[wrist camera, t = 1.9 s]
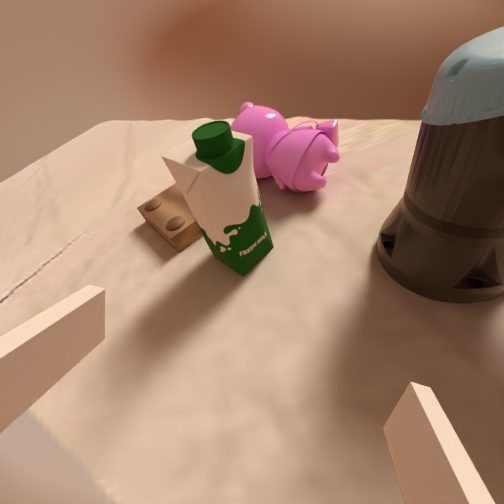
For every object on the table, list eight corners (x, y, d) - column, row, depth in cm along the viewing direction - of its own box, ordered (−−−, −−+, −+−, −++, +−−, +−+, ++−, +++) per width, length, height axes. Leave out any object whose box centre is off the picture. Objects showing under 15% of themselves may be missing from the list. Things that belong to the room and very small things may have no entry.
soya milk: (242, 283, 38) (189, 156, 23) (205, 256, 43) (143, 139, 29) (282, 245, 41) (256, 113, 27) (242, 225, 46) (203, 105, 32)
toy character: (362, 154, 50) (263, 117, 61) (359, 107, 38) (237, 72, 49) (317, 222, 51) (228, 174, 62) (301, 198, 39) (194, 144, 50)
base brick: (200, 187, 59) (193, 170, 55) (240, 209, 50) (234, 191, 47) (147, 222, 54) (136, 206, 51) (180, 254, 46) (169, 237, 42)
